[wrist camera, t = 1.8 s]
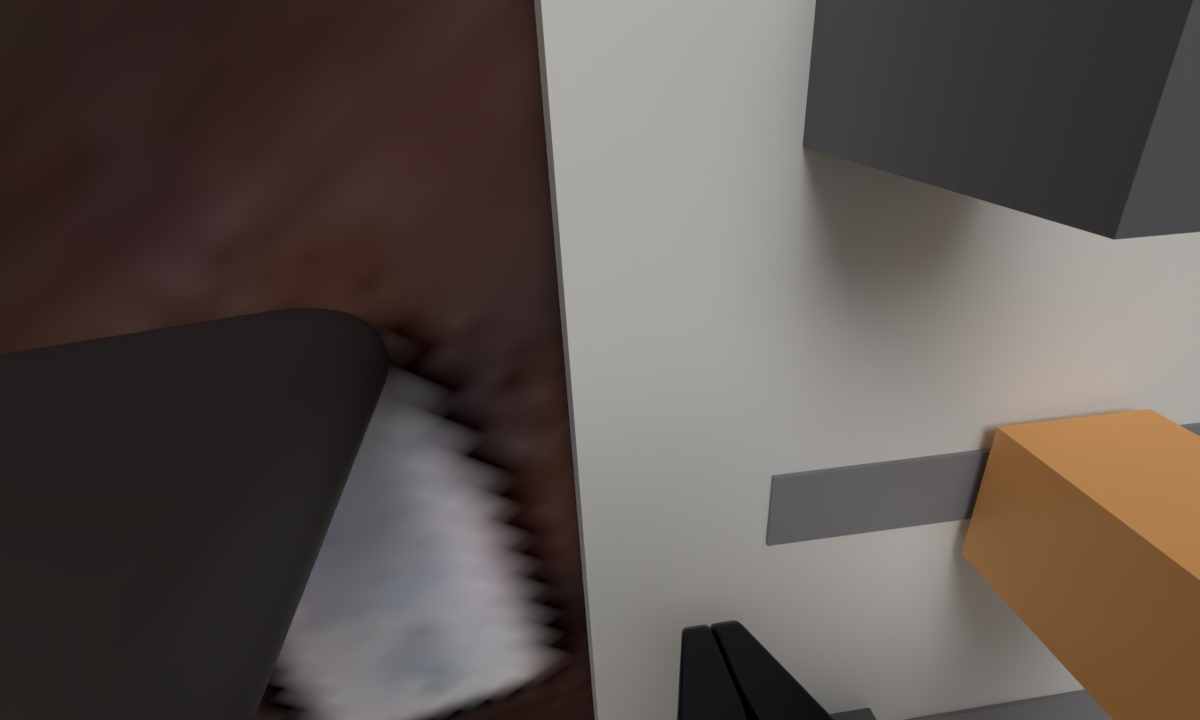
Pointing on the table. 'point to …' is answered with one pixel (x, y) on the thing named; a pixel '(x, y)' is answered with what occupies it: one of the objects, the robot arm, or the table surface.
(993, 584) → the block
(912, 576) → the breaker panel
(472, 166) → the table surface
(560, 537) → the table surface
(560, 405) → the table surface
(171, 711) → the leaning round-cornered charcoal block
